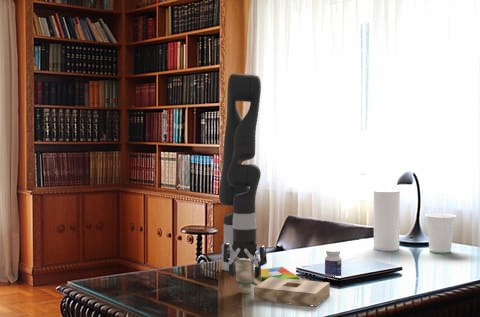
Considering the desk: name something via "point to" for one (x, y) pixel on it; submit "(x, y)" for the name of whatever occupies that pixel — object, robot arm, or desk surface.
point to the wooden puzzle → (275, 274)
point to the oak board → (292, 291)
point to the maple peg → (244, 274)
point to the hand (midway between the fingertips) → (245, 276)
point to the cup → (440, 232)
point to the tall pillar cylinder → (386, 219)
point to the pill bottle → (332, 263)
